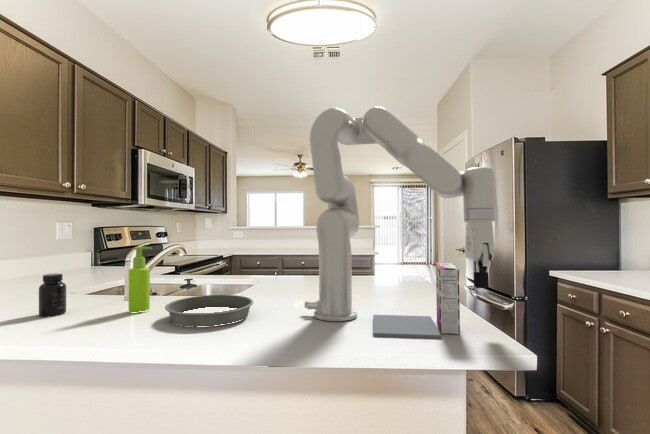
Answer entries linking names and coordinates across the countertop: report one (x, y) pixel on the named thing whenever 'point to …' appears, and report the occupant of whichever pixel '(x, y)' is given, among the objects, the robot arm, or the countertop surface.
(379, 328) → the mat
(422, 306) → the countertop surface
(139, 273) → the soap dispenser
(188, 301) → the baking ring
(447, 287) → the candy bar box
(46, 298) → the supplement bottle
